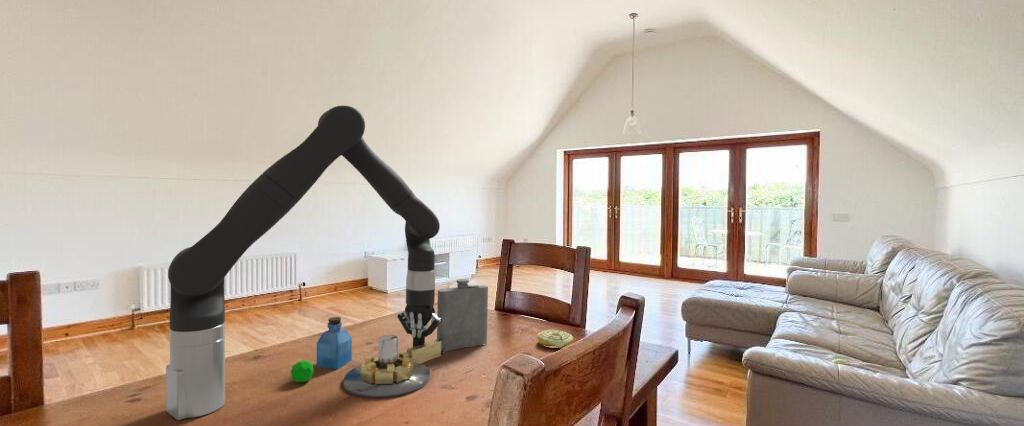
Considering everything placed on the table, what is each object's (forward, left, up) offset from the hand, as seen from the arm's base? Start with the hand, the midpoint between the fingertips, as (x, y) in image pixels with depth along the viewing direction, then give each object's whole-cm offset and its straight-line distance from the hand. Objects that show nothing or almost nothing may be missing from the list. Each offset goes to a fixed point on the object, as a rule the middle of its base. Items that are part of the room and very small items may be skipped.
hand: (418, 350), depth 119 cm
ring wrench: (-6, -3, -2) cm, 7 cm away
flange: (-12, -3, -3) cm, 13 cm away
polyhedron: (-25, +12, -3) cm, 28 cm away
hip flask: (+17, -1, -3) cm, 17 cm away
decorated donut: (+36, -22, -4) cm, 42 cm away
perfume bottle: (-14, +16, -3) cm, 22 cm away
